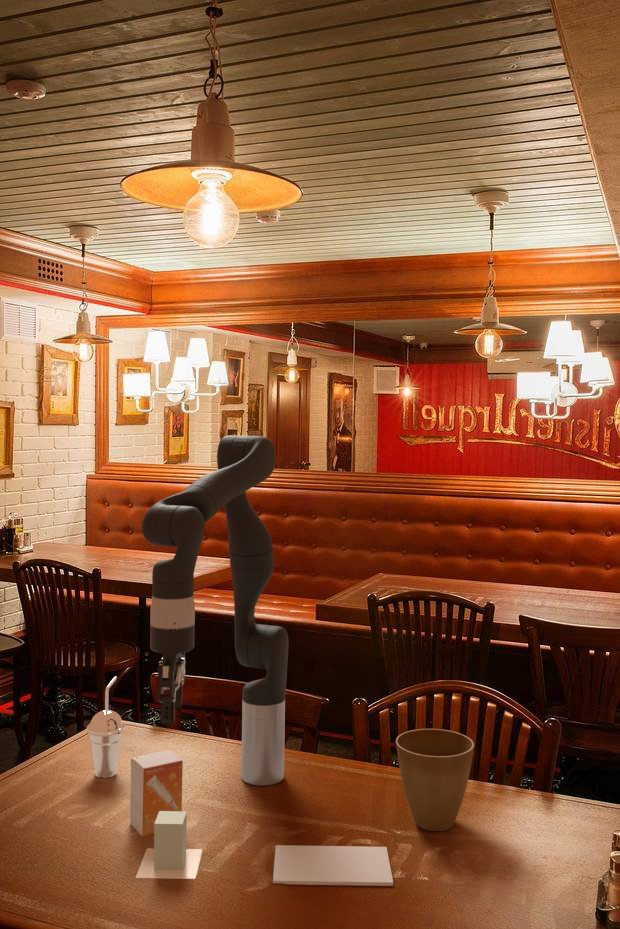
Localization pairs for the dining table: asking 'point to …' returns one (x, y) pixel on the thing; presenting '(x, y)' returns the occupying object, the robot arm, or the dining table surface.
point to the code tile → (186, 873)
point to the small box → (154, 788)
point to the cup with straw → (106, 739)
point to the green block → (170, 840)
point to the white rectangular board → (332, 865)
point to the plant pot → (434, 774)
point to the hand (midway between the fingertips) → (171, 715)
